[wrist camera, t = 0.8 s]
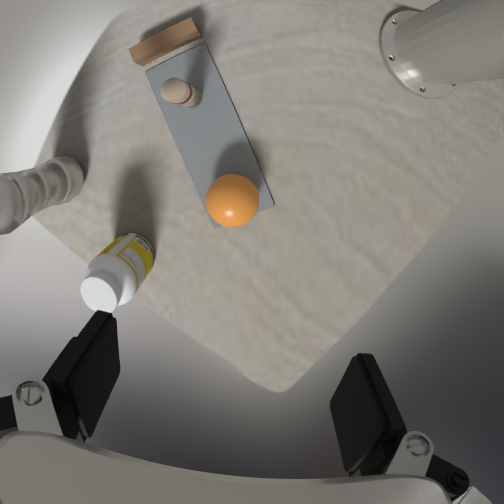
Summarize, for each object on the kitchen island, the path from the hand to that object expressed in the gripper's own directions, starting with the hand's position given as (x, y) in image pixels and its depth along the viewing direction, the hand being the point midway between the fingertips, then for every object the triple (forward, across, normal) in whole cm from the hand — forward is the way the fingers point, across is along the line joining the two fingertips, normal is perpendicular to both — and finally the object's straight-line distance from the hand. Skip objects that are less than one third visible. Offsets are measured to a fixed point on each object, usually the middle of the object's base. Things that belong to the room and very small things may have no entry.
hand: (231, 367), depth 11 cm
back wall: (+28, +13, -19) cm, 36 cm away
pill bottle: (+29, +14, +9) cm, 33 cm away
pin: (+28, +9, -12) cm, 31 cm away
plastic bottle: (+29, +25, 0) cm, 38 cm away
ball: (+25, +2, -1) cm, 25 cm away
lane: (+28, +6, -8) cm, 29 cm away
